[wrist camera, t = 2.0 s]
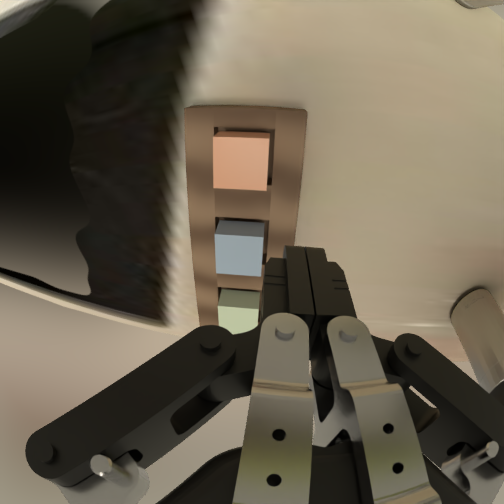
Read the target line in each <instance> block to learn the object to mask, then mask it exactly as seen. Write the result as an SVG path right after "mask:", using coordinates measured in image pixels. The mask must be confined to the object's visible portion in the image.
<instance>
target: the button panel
mask: <svg viewBox="0 0 504 504" xmlns="http://www.w3.org/2000/svg"><path fill="white" fill-rule="evenodd" d="M184 114H185V152H186V175H187V193H188V209H189V223H190V236H191V248H192V259H193V269H194V279H195V288H196V297H197V306H198V314H199V322H200V326H204V325H218V326H219V319H218V303H219V298H220V294H221V290H222V289H225V290H238V291H251V292H260V299H259V314H258V324H259V323H260V315H261V294H262V285H263V276H264V267H265V264H266V263H267V261H268V260H269V259H270V257H274V258H283V251H284V246H285V245H289V246H294V240H295V232H296V224H297V215H298V206H299V197H300V188H301V179H302V169H303V159H304V148H305V137H306V125H307V111H306V110H304V109H293V108H281V107H265V106H238V105H204V106H190V107H187V108H184ZM219 131H235V132H260V133H270V141H269V159H268V177H267V190H266V191H260V190H243V189H222V188H213V136H214V135H216V134H217V133H218V132H219ZM220 220H226V221H243V222H258V223H265V225H264V241H263V256H262V269H261V277H260V276H246V275H233V274H220V273H216V258H215V232H216V229H217V226H218V224H219V221H220Z"/></svg>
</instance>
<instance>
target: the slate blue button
mask: <svg viewBox="0 0 504 504" xmlns="http://www.w3.org/2000/svg"><path fill="white" fill-rule="evenodd" d="M264 225H265V223H258V222H243V221H226V220H220V221H219V224H218V226H217V229H216V232H215V258H216V273H220V274H233V275H246V276H260V277H261V269H262V256H263V241H264Z"/></svg>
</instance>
